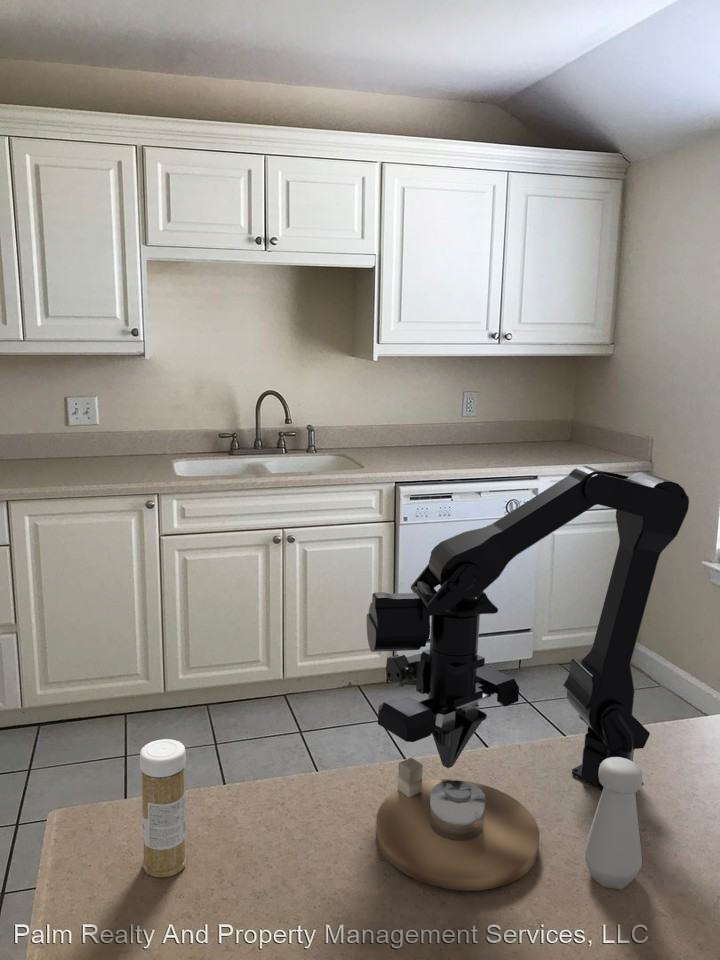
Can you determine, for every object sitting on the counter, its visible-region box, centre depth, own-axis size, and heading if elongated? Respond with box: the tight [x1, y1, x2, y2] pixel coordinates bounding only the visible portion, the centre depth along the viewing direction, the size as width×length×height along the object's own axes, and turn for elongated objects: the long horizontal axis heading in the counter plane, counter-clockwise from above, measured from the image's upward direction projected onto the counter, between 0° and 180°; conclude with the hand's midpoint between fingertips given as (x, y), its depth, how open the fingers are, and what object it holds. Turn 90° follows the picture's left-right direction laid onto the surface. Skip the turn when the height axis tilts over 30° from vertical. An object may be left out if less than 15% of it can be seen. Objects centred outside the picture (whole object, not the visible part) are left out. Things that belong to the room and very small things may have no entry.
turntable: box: [375, 757, 540, 891], centre depth 92 cm, size 18×18×5 cm
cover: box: [429, 779, 485, 841], centre depth 92 cm, size 6×6×4 cm
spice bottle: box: [139, 738, 187, 878], centre depth 86 cm, size 5×5×14 cm
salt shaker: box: [584, 757, 643, 891], centre depth 86 cm, size 6×6×13 cm
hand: (447, 766), depth 102 cm, fingers closed
